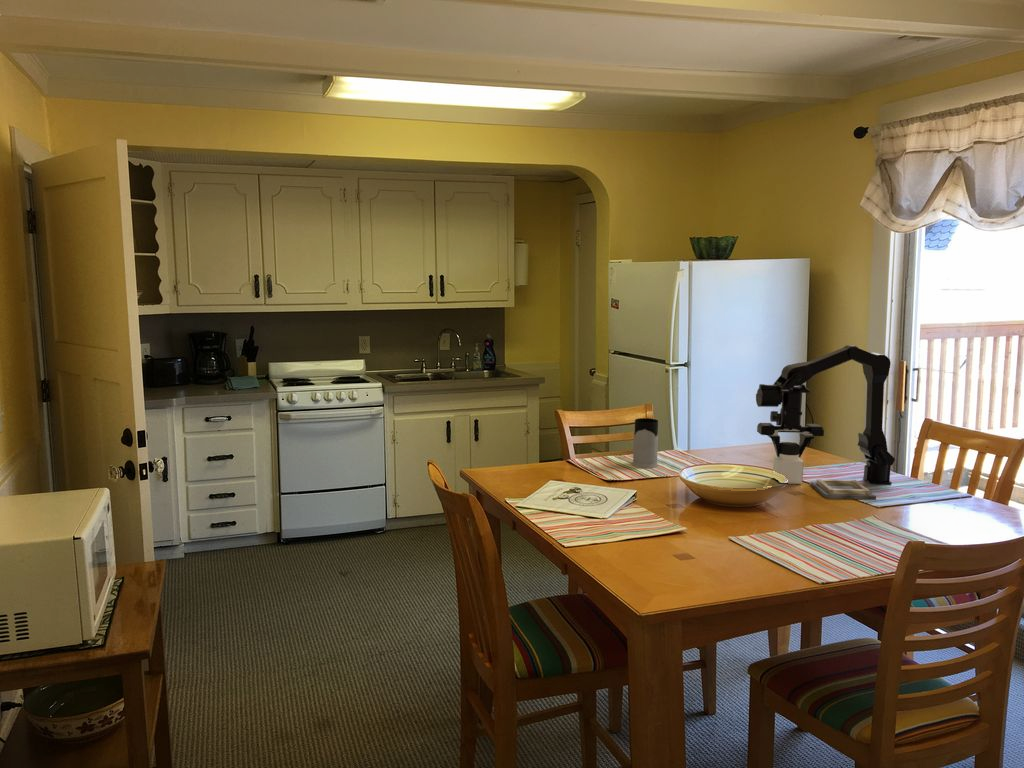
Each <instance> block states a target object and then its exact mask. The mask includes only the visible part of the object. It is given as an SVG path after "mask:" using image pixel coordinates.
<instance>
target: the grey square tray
mask: <svg viewBox="0 0 1024 768" xmlns="http://www.w3.org/2000/svg"><path fill="white" fill-rule="evenodd" d="M810 486H811V487H812V488H813V489H815V490H816V491H817V492H818V493H819V494H820V495H821V496H822V497H824V498H825V499H832V500H833V499H834V500H835V499H837V500H839V499H841V500H871V499H877V496H876V495H875V494H874V493H872V492H871V491H870V489H869V488H867V487H866V486H864V485H863V484H861V483H860V481H857V480H856V479H825V478H823V479H816V481H811V482H810Z"/></svg>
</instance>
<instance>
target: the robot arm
mask: <svg viewBox="0 0 1024 768" xmlns="http://www.w3.org/2000/svg"><path fill="white" fill-rule="evenodd" d="M849 361H854V362H856V363H858V364H861V365H862V372H863V374H864V375H863V376H864V377H865V380H866V404H865V405H866V406H865V407H866V408H865V409H866V410H865V411H866V413H865V429H864V430H863V432H858V435H857V437H858V442H857V446H858V447H859V451H860V452H862V454H863V455H864V458H865V459H866V464H865V465H864V468H863V478H862V479H863V480H865V481H866V482H867V483H869V484H873V485H874V484H875V485H876V484H878V485H879V484H880V485H892V484H893V482H892V481H890V479H891V467H892V466H893V465H894V464H895V463H894V462H895V461H896V458H895V457H894V456H893V455H892V454H891V453H890V452H889V450H888V444H887V438H886V436H885V433H884V430H883V429H884V428H883V418H884V393H885V391H884V390H885V382H886V381H887V378H888V376H889V374H890V369H891V365H892V364H891V359H890V358H889V357H888V356H887V355H884V354H881V353H877V352H873V351H872V352H869V351H866V350H863V349H861V348H859V347H857V346H856V345H852V344H848V345H847V344H846V345H844V346H843V347H841V348H839V349H836V350H834V351H832V352H829V353H827V354H824V355H822V356H819V357H817V358H814V359H811V360H808V361H804V362H803V361H801V362H797V363H791V364H786V366H784V367H783V368H782V370H781V374H780V375H779V377H778V378H777V379H776V380H775V381H774V383H773V384H763V383H760V384H759V385H758V386H759V387H758V389H757V391H756V393H755V402H756V405H757V407H758V408H759V407H760V408H764V407H765V408H772V407H773V408H778V407H779V406H780V405H781V408H780V410H779V411H780V412H779V411H775V410H772V411H770V415H769V416H770V417H769V418H770V419H769V421H770V422H759V423H758V424H757V426H756V432H757V433H758V434H759V435H761V436H767V437H768V438H770V439H771V442H772V444H773V447H774V451H775V454H776V455H775V456H777V457H779V454H780V443H781V436H780V435H779V433H796V434H797V433H798V434H799V443H798V444H799V446H800V448H799V457H798V458H799V459H801V457H802V455H803V453H804V451H805V449H806V448H807V446H808V445H809V443H810V442H811V440H814V439H815V437H824V436H825V429H824V427H823V426H822V425H820V424H819V423H805V426H802V425H801V420H802V419H801V418H802V415H803V411H802V408H803V407H802V406H803V402H802V401H803V394H810V393H811V390H809V389H808V388H807V386H806V385H805V383H806V382H808V381H810V380H811V379H812V378H813V377H814V376H816V375H817V374H820V373H821V372H825V371H827V370H829V369H831V368H834V367H837V366H839V365H841V364H844V363H846V362H849ZM773 423H776V425H774V424H773Z"/></svg>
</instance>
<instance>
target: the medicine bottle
mask: <svg viewBox="0 0 1024 768" xmlns="http://www.w3.org/2000/svg"><path fill="white" fill-rule="evenodd" d="M799 448H800V446H799V443H797V442H794V441H782V442H781V441H780V454H779V457H777V455H774V456H773V458H772V459H773V461H772V472H773V471H775V472H777V473H779V474H782V475H784V476H786V477H787V479H788V484H787V485H789V484H790V485H791V484H794V485H796V484H797V485H802V484H803V478H804V477H803V476H804V461H803V460H802V459H801V458H799Z"/></svg>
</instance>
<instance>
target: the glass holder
mask: <svg viewBox="0 0 1024 768" xmlns="http://www.w3.org/2000/svg"><path fill="white" fill-rule="evenodd" d="M658 433H659V420H658V419H655V418H649V417H646V418H645V417H644V418H642V417H639V418H635V420H634V432H633V448H632V449H633V451H632V452H633V454H632V457H633V458H632V462H631V466H632V467H635V468H639V469H655V468H658V467H659V464H658V451H659V450H658V449H659V445H658V444H659V434H658Z"/></svg>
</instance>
